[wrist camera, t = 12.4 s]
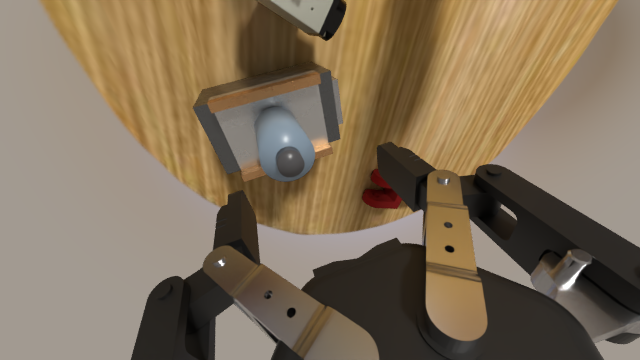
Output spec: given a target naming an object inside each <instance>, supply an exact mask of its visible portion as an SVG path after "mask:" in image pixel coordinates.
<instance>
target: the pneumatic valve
mask: <svg viewBox="0 0 640 360" xmlns="http://www.w3.org/2000/svg"><path fill="white" fill-rule="evenodd" d="M256 1H258V2H259V3H261V4H262V5H264V6H265V7H267V8H268V9H270V10H272V11H273V12H275V13H276V14H278V15H279V16H281V17H282V18H284V19H285V20H287V21H288V22H290V23H291V24H293V25H294V26H296V27H297V28H299V29H300V30H302V31H303V32H305V33H307V34H308V35H312V36H319V37H320V38H322V39H323V40H325V41H328V40H329V39H331V38H332V36H333V35H334V34H335V32H336V31H337V29H338V28H339V26H340V24H341V22H342V20H343V17H344V15H345V11H346V2H345V1H344V0H256Z"/></svg>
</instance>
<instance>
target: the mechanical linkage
mask: <svg viewBox="0 0 640 360" xmlns="http://www.w3.org/2000/svg"><path fill="white" fill-rule="evenodd" d="M371 180H372V182H374V183H375V184H376V185H378V186H381V187H384V190H375V189H366V190H365V192H364V194H363V197H362V199H363V201H364V202H365V203H366V204H367V205H369V206H371V207H374V208H393V209H397V208H398V206H399V204H400V202H401V201H402V199H401V198H400V197H399V195H398V194H397V193H396V192H395V191H394V190H393V189H392V188H391V187H390V186H389V185H388V184H387V182H386V181H385V180H384V179H383V178H382V177H381V176H380V174H379V171H378V169H375V170H374V171H373V173H372V176H371Z"/></svg>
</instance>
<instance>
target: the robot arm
mask: <svg viewBox="0 0 640 360" xmlns="http://www.w3.org/2000/svg"><path fill="white" fill-rule="evenodd" d="M377 162H378V171H379V174H380V176H381V177H382V178H383V179H384V180H385V181H386V182H387V184H388V185H389V186H390V187H391V188H392V189H393V190H394V191H395V192H396V193H397V194H398V195H399V197H400V198H401V199H402V200H403V201H404V202H405V203H406V204H407V205H408V206H409V207H410V208H411V210H412V211H413V212H415V211H418V210H420V209H422V210H423V211H424V214H423V232H422V245H418V244H411V243H405V244H404V243H403V244H401V243H400V242H399V240H398V239H397V238H394V239H392V240H389V241H387V242H384V243H382V244H379V245H377V246H375V247H374V248H372V249H371V250H369V251H368V252H367V253H365V254H364V255H362V256H361V257H359V258H357V259H351V260H343V261H336V262H332V263H329V264H327V265H324V266H321V267H319V268H317V269H314V270H313V273H314V276H315V277H314V278H312V279H311V280H310V281H309V282H307V283H306V284H305V286H304V287H303V288H302V289H301V290H300V289H299V288H297V287H296V286H294V285H293V284H292V283H290V282H288V281H287V280H286V279H284V278H282V277H281V276H280V275H278V274H277V273H275V272H274V271H272V270H271V269H270V268H268V267H267V266H265V265H263V264H260V258H259V245H258V234H257V222H256V216H255V213H254V211H253V209H252V207H251V205H250V203H249V201H248V199H247V197H246V195H245V193H244V192H243V190H241V191H238V192H235V193H232V194H229V195H228V205H225V206H222V207H221V209H220V210H219V212H218V214H217V220H216V222H217V223H216V230H215V238H214V246H213V251H212V252H210V253H209V254H208V256H207V257H206V258H205V260H204V262H203V267H202V268H201V269H200V270H198V271H197V272H195V273H194V274H192V275H191V276H189V277H187V278H186V279H184V280H183V279H182V278H181V277H179V276H173V277H170V278H167V279H165V280H163V281H162V282H160V283H159V284H158V285H157V286H156V287H155V288H154V289H153V290H152V292H151V293H150V295H149V297H148V299H147V303H146V306H145V310H144V313H143V317H142V321H141V325H140V328H139V332H138V336H137V339H136V343H135V346H134V350H133V354H132V358H131V360H215V317H216V316H217V315H219V314H220V313H221V312H223V311H224V310H225V309H227V308H228V307H229V306H231V305H232V304H234V305H235V306H237V307H238V308H239V309H240V310H241V311H242V312H243V313H244V314H245V315H246V316H247V317H248V318H249V319H250V320H252V321H253V322H254V323H255V324H256V325H257V326H258V327H259V328H260V329H261V330H262V331H263V332H264V333H265V334H266V335H267V336H268V337H269V338H270V339H271V340H272V341H273V342H274V343H275V344H276V345H277V346H276V348H275V350H274V353H273V355H272V358H271V360H604V359H603V357H602V356H601V354H600V353H599V351H598V349H597V348H596V346H595V344H594V343H597V342H599V341H602V340H606V341H609V342H612V343H617V344H628V343H630V342H632V341H634V340H635V339H637V338H639V337H640V248H639V247H637V246H636V245H634V244H632V243H631V242H629V241H627V240H626V239H624V238H622V237H621V236H619V235H617V234H616V233H614V232H612V231H611V230H609V229H607V228H606V227H604V226H602V225H601V224H599V223H597V222H595V221H594V220H592V219H590V218H589V217H587V216H586V215H584V214H582V213H580V212H579V211H577V210H576V209H574V208H572V207H570V206H569V205H567V204H565V203H564V202H562V201H560V200H559V199H557V198H555V197H554V196H552V195H550V194H549V193H547V192H545V191H544V190H542V189H540V188H539V187H537V186H535V185H533V184H532V183H530V182H528V181H527V180H525V179H524V178H522V177H520V176H519V175H517V174H515V173H514V172H512V171H510V170H508V169H507V168H505V167H502V166H499V165H493V164H486V165H482V166H479V167H478V168H477V169H476V173H475V175H468V176H458V175H457V174H456V173H454V172H451V171H448V170H436V169H435V168H433V167H432V166H431V165H429V164H428V163H427V162H425V161H424V160H423V159H420V157H419V156H417V155H415V153H413V152H412V151H410V150H409V149H406V148H403V147H399V148H398V147H397V146H396V145H394V144H393V143H392V142H388V143H385V144H382V145H379V146H377ZM501 204H503V205H504V206H506V207H507V208H508V209H510V210H511V211H512V212H513V213H514V214H515V215H516V217H517V220H516V219H514V218H513V217H512V216H510V215H509V214H508V213H507V212H505V211H504V210H503V209H501V208H500V207H501ZM469 219H471V220H472V221H473V222H474V223H475V224H476V225H477V226H478V227H479V228H480V229H481V230H482V231H483V232H485V234H487V235H488V236H489V237H490V238H491V239H492V240H493V241H494V242H495V243H496V244H497V245H498V246H499V247H501V249H503V250H504V251H505V252H506V253H507V254H508V255H509V256H510V257H511V258H512V259H513V260H514V261H515V262H517V264H519V265H520V266H521V267H522V268H523V269H524V270H525V271H526V272H527V273H528V274H529V275H530V276H531V282H532V284H533V286H534V287H535V289H536V290H537V291H536V290H534V289H531V288H529V287H526V286H524V285H521V284H518V283H516V282H513V281H511V280H509V279H506V278H504V277H501V276H499V275H496V274H494V273H491V272H489V271H486V270H484V269H481V268H479V267H476V261H475V254H474V247H473V240H472V234H471V227H470V220H469Z"/></svg>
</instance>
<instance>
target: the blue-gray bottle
mask: <svg viewBox="0 0 640 360" xmlns="http://www.w3.org/2000/svg"><path fill="white" fill-rule="evenodd" d="M254 128H255V135H256V141H257V146H258V152H259V158H260V164H261V167H262V169H263V171H264V172H265V173H266V174H267V175H268V176H269V177H271V178H272V179H275V180H278V181H284V182H287V181H293V180H297V179H299V178H301V177H302V176H304V175H305V174H306V173H307V172H308V171H309V170H310V169H311V167H312V166H313V163H314V160H315V150H314V147H313V144H312V143H311V141H310V140H309V138H308V137H307V135H306V133H305V132H304V130H303V129H302V127H301V126H300V124H299V122H298V121H297V119H296V118H295V116H294V115H293V114H292V113H291V112H290V111H289V110H287V109H285V108H283V107H277V106H275V107H269V108H267V109H265V110H263V111H262V112H261V113H260V114H259V115H258V117H257V118H256V121H255V126H254Z"/></svg>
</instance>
